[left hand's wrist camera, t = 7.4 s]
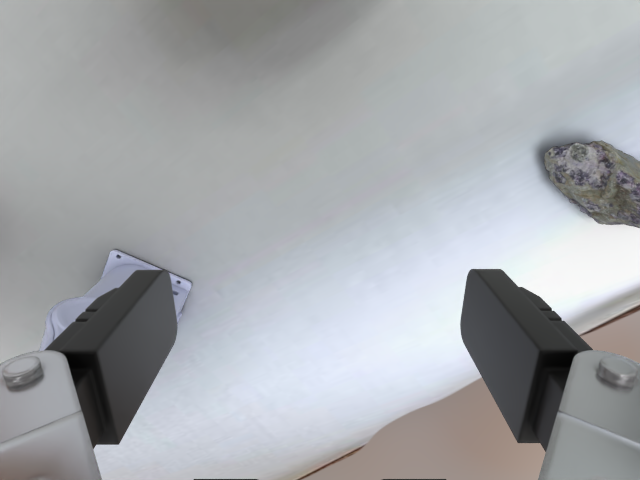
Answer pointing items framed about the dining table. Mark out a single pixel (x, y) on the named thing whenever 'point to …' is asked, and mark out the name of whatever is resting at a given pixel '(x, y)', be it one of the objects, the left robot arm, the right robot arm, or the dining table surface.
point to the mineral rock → (598, 181)
